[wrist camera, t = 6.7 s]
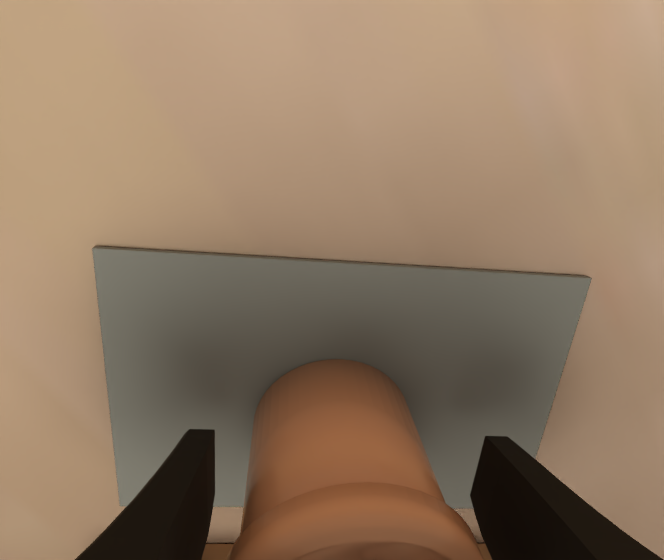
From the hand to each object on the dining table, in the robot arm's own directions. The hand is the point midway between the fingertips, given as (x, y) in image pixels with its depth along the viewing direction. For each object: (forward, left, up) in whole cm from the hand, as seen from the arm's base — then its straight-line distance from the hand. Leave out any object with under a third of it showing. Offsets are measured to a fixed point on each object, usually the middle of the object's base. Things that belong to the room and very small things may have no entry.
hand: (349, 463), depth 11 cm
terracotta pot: (0, +1, -3) cm, 3 cm away
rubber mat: (0, 0, -3) cm, 3 cm away
